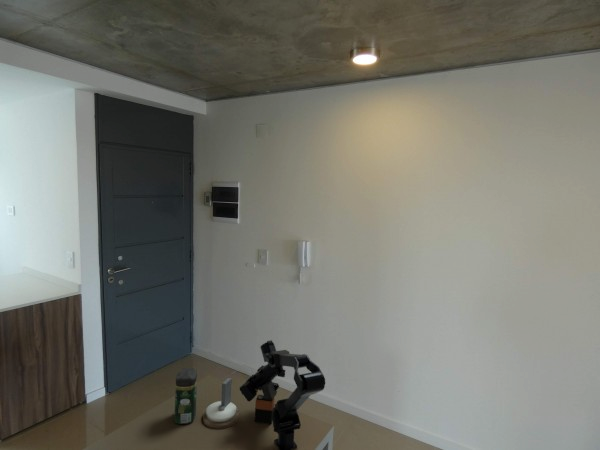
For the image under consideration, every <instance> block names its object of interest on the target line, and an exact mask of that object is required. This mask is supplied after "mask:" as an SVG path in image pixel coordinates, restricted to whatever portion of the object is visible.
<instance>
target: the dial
mask: <svg viewBox="0 0 600 450" xmlns="http://www.w3.org/2000/svg"><path fill="white" fill-rule="evenodd" d="M232 380H233V379H232V378H231V377H227V378H226V379H225V380H224V381H223V382H222V383H221V398H220V401H219V400H218V401H215V402H213V403H211V404H209V405H208V406H207V407H206V409H207V410H206V409H205V410H206V416H207V418H208V419H209V420H211V421H214V422H225V421H228V420H231V419H232V418H233V417H234V416H235V415H236V408H237V406H236V404H234V403H233V402H231V401H232V400H231V399H232V382H233V381H232Z"/></svg>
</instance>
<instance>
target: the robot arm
mask: <svg viewBox="0 0 600 450" xmlns="http://www.w3.org/2000/svg"><path fill="white" fill-rule="evenodd" d="M259 348H260V351H261V354H262V358H263V361H264V363H267V364H265V365H261V366H260V367H259V368H257V369H256V372H255V373H253V374H251V375H250V377H249V378H248V379H247V380H246V381H245V382H244V383H243V384H242V385H241V386H240V387H239V391H240V392H241V395H242V396H244V398H245V400H247V402H251V401H252V400H254V398H255V397H257V396H258V394H257V393H258V391H261V392H262V395H264V399H265V400H270V399H273V398H274V399H275V397H276V396H277V394H278V393H277V392H278V391H277V390H278V389H279V388H280V385H279V383H277V382H274V381H273V380H274V379H275V378H276V377H278V378H279V377H280V378H285V377H286V369H284V367H290V368H293V370H294V374H293V380H294V383H295V386H296V388H295V389H294V390H293V392H292V393H291V394H290V396H289V397H288V398H284V399H278V400H277V401H276V403H274V409H273V412H272V418H273V420H272V427H273V432H274V433H276V434H277V438H275V439H274V440H273V443H274V444H275V445H276V446H277V449H278V450H294V449H297V448H298V445H297V443H296V442H295V431H296V430H299V429H300V428H301V420H300V416H299V412H298V410H299V409H300V408H301V406H303V404H304V403H305V402H306V401H307V400H308V399H309V398H310V397H311V396H312V395H315V394H318V393H320V392H322V391H323V390H324V389H325V387H326V379H325V375H324V374H323V372H322V370H321V369H320V367H319V366H318V365H317V364H316V363H315V362H313V361H312V360H311V358H310V357H309V355H308V354H305V353H304V354H298V353H297V354H295V353H290V351H288V349H282V350H281V349H280V350H277V349H276V345H275V343H274V342H273V340H267V341H266V342H264V343H263V344H262V345H260V347H259ZM301 368H306V369H307V371H309V372H307V373H302V374H300V372H299V369H301Z"/></svg>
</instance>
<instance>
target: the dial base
mask: <svg viewBox="0 0 600 450" xmlns="http://www.w3.org/2000/svg"><path fill="white" fill-rule="evenodd" d="M206 410H207V408H205V410H204V411H203V413H202V422H203V424H204V425H205V426H207V427H209V428H211V429H218V430H219V429H220V430H221V429H226V428H229V427H232V426H234V425H236V423H237V422H238V421H239V420H240V410H239V409H238V407H236V415H235V416H234V417H233V418H232V419H231V420H228V421H225V422H214V421H211V420H209V419H208V418H207V416H206Z"/></svg>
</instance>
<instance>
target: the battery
mask: <svg viewBox="0 0 600 450" xmlns="http://www.w3.org/2000/svg"><path fill="white" fill-rule="evenodd" d="M274 407H275V397H274V398H273V399H270V400H265V399H264V395H263V394H257V395H256V398H255V406H254V423H260V424H267V425H272V424H273V418H272V412H273V409H274Z"/></svg>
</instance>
